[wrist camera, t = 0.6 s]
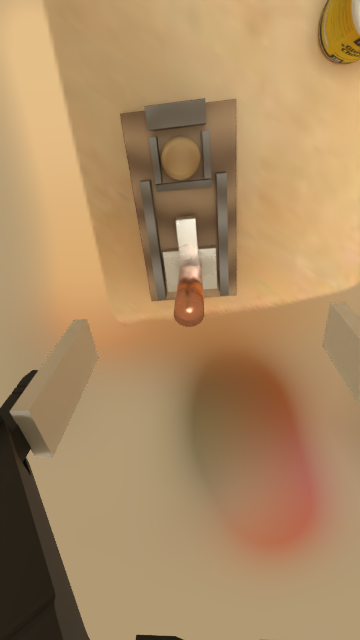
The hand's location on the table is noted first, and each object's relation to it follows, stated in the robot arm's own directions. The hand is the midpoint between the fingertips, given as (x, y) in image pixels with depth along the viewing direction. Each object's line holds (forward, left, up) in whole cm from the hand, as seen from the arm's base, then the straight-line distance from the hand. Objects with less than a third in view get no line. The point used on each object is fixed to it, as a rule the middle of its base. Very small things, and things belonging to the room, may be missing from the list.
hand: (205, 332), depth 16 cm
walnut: (-7, -2, -27) cm, 28 cm away
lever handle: (+4, -2, -26) cm, 27 cm away
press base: (0, -2, -28) cm, 28 cm away
